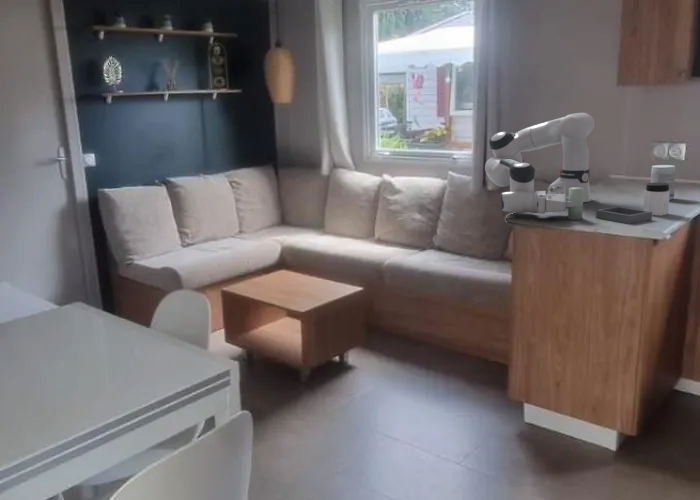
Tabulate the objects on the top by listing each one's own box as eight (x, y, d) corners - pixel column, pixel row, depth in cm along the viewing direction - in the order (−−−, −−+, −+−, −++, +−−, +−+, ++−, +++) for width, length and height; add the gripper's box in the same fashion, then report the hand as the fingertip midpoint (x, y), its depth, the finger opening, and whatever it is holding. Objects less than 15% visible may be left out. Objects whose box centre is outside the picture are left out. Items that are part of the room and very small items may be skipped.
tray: (595, 217, 257) (596, 210, 256) (617, 214, 262) (618, 206, 261) (629, 223, 243) (629, 215, 242) (651, 219, 248) (652, 211, 247)
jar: (658, 216, 253) (660, 186, 250) (639, 214, 260) (641, 184, 257) (672, 213, 258) (674, 183, 255) (652, 211, 265) (654, 181, 262)
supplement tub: (678, 198, 289) (680, 165, 285) (666, 201, 284) (668, 167, 280) (657, 196, 297) (659, 164, 293) (645, 199, 291) (647, 166, 288)
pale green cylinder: (564, 218, 259) (566, 188, 256) (574, 216, 261) (576, 186, 258) (575, 220, 254) (576, 189, 251) (585, 218, 256) (586, 188, 253)
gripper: (542, 205, 270) (577, 205, 266) (540, 214, 251) (578, 214, 247) (542, 190, 269) (578, 190, 264) (540, 198, 250) (578, 198, 246)
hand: (578, 202), depth 256 cm, fingers closed on pale green cylinder, 5 cm apart
